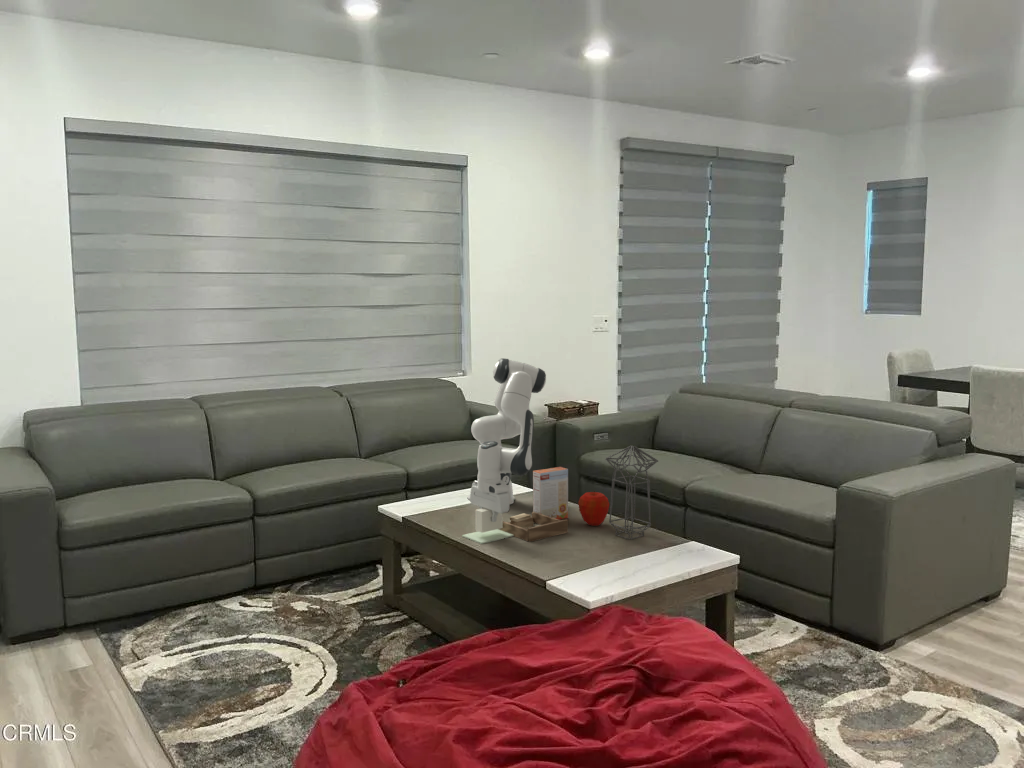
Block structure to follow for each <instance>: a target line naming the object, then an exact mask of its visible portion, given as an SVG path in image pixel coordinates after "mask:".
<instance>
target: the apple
mask: <svg viewBox="0 0 1024 768" xmlns="http://www.w3.org/2000/svg"><path fill="white" fill-rule="evenodd" d="M577 503H578V510H579V513H580V515H581V518H582V519H583V521H584V522H585V523H586V524H587V526H588V525H589V526H593V527H594V526H595V527H597V526H601V524H602V523H604V521H605V519H606V517H607V515H608V513H609V510H610V509H609V508H610V505H611V503H610V502H609V498H608V497H607V496H606V495H605V494H604V493H602V492H596V491H595V490H593V491H590V492H589V491H588V492H587V491H586V492H584V493H583V494H582V495H581V496H579V499H578V502H577Z"/></svg>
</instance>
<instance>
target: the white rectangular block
mask: <svg viewBox="0 0 1024 768" xmlns="http://www.w3.org/2000/svg"><path fill="white" fill-rule="evenodd" d="M503 514H504V513H502V514H501V513H498V515H497V520H496V522H492V521H491V517H492V515H493V513H492V510H489V509H486V508H482V509H480V508H477V509H475V516H474V517H475V518H474V519H475V524H474V525H475V527H474V528H475V532H478V531H479V532H481V533H483V532H487V531H491V530H496V529H500V528H503V521H504V519H503V517H504V516H503Z"/></svg>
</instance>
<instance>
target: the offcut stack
mask: <svg viewBox="0 0 1024 768" xmlns="http://www.w3.org/2000/svg"><path fill="white" fill-rule="evenodd" d="M509 521H510V522H511V524H513V525H516V526H519V527H522V528H525V529H527V528H531V527H534V522H533V517H532V514H530V513H529V514H528V513H525V512H524V513H520V514H516V515H512V516H510V517H509Z"/></svg>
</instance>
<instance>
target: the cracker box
mask: <svg viewBox="0 0 1024 768" xmlns="http://www.w3.org/2000/svg"><path fill="white" fill-rule="evenodd" d="M532 497H533V498H532V501H533V502H532V504H533V505H532V508H533V509H532V512H537V513H540V514H543V515H546V516H549V517H552V518H555V519H559V520H565V519H566V520H567V519H568V518H569V468H565V467H563V466H557V467H550V468H545V469H544V468H543V469H537V470H532Z"/></svg>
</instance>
